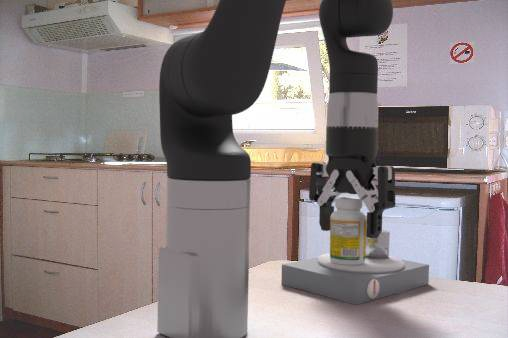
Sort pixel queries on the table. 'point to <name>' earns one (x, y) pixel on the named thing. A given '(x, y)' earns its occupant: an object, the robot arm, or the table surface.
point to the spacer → (378, 246)
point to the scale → (355, 277)
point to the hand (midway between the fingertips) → (348, 233)
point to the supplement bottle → (348, 232)
